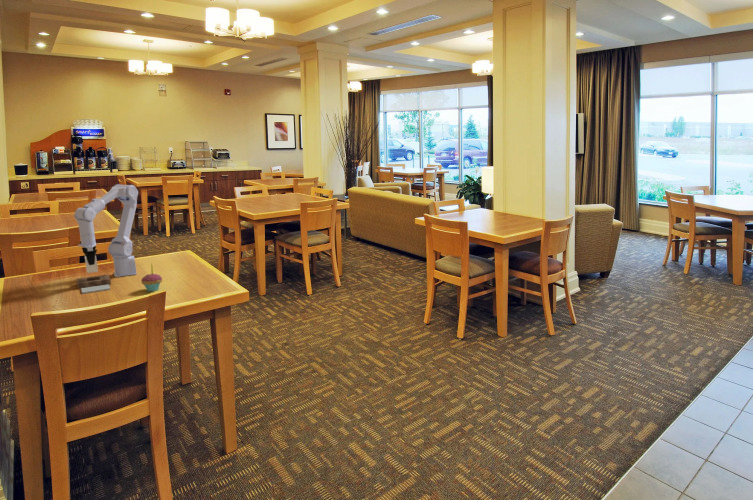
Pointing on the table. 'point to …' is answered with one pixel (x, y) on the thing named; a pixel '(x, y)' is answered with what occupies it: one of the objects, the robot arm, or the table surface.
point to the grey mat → (95, 289)
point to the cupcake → (152, 281)
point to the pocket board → (93, 281)
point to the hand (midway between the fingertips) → (91, 263)
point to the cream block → (91, 266)
